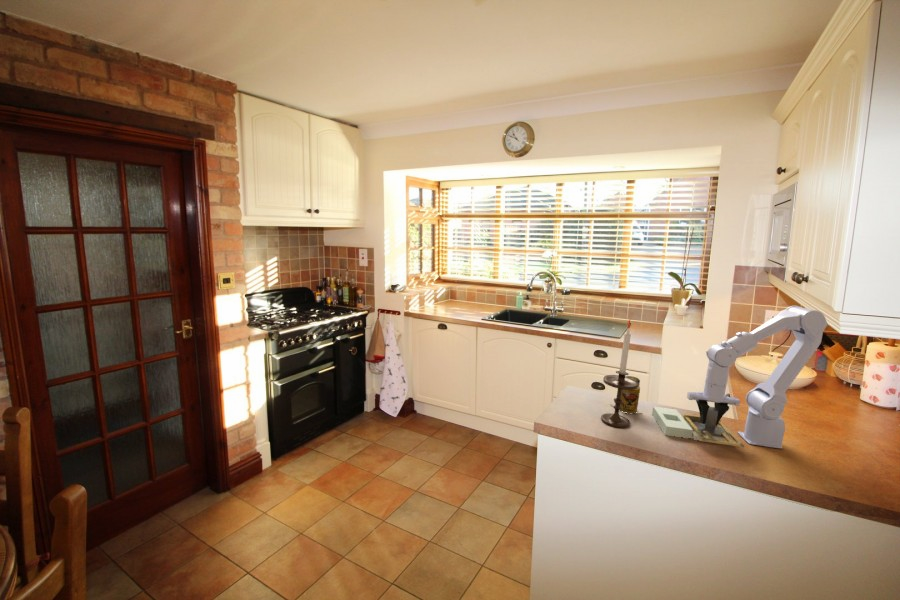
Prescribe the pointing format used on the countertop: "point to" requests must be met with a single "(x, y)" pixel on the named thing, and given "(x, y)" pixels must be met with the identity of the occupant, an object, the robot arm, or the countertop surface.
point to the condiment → (630, 399)
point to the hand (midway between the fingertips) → (708, 423)
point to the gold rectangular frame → (697, 418)
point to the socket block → (711, 435)
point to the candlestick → (620, 387)
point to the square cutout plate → (672, 422)
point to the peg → (710, 423)
